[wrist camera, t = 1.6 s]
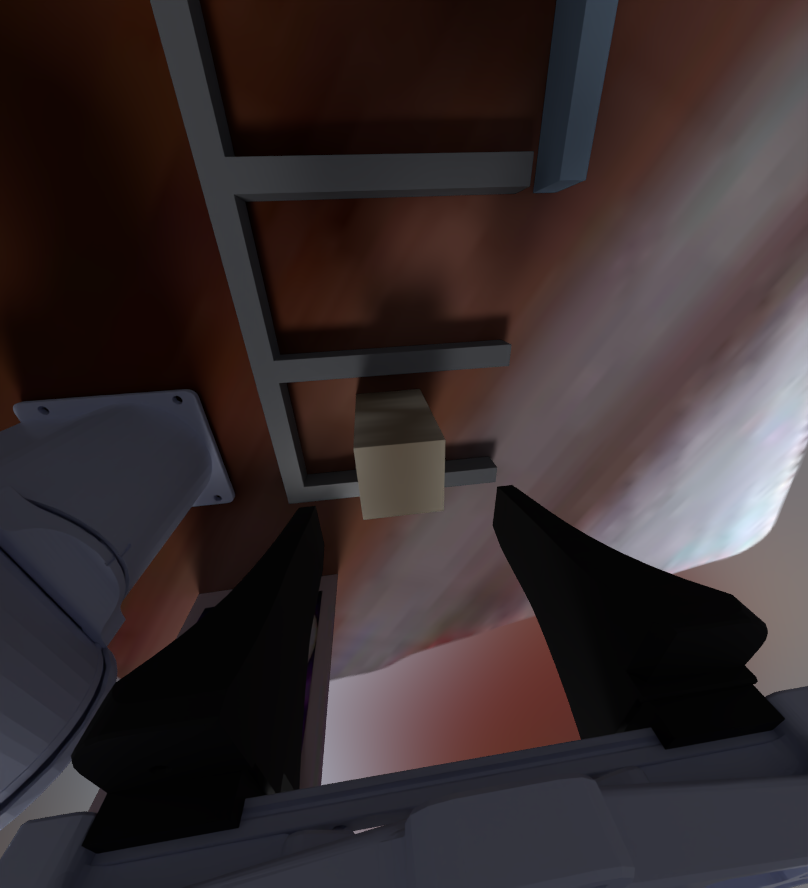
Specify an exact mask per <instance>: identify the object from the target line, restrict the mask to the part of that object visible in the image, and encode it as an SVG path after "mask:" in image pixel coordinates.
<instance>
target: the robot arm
mask: <svg viewBox="0 0 808 888" xmlns="http://www.w3.org/2000/svg"><path fill="white" fill-rule="evenodd" d="M176 396H179V397H181V398H182V400H183V402H180V401H178V400H177V399H176ZM44 407H46V408H47V409H48V410H49V411H47V410H46V409H45V408H44ZM13 410H14V413H15V414H16V416H17V417H18V419H19V420H20V421H21V423H19V424H17V425H15V426H12V427H10V428H8V429H5V430H3V431H1V432H0V830H1V829H3V828H4V827H5V826H6V825H8V824H9V823H10V822H11V821H12V820H14V819H15V818H16V817H17V816H18V815H20V813H22V812H23V811H24V810H25V809H26V808H27V807H28V806H29V805H30V804H31V803H32V802H33V801H34V800H36V799H37V798H38V797H39V796H40V795H41V794H42V793H43V792H44V791H45V790H46V789H47V788H48V786H49V785H50V784H51V783H52V782H53V781H54V780H55V779H56V778H57V777H58V776H59V775H60V774H61V773H62V772H63V770H64V769H65V768H66V767H67V766H68V764H69V763H70V762H71V761H72V764H73V767H74V768H75V769H76V770H77V771H78V772H79V774H81V775H82V776H84V777H85V778H86V779H88V780H89V781H91V782H92V783H94V784H95V785H97V786H98V787H99V788H101V789H102V790H103V791H105V792H106V793H107V795H106V797H105V799H104V801H103V803H102V805H101V807H100V809H99V811H98V813H95V812H75V813H69V814H63V815H57V816H52V817H45V818H40V819H34V820H29V821H27V822H26V823H24V824H23V825H21V827H20V828H19V830H18V832H17V833H16V835H15V836H14V838H13V840H12V841H11V843H10V844H9V846H8V848H7V849H6V851H5V853H4V854H3V856H2V857H1V859H0V888H791V887H794V886H798V885H802V884H807V883H808V686H806V687H800V688H794V689H789V690H783V691H778V692H774V693H772V694H770V695H768V696H766V697H764V696H763V695H762V694H761V693H760V692H759V691H758V689H757V688H756V687H755V686H754V685H753V684H756V683H757V682H758V681H757V678H756V676H755V675H753V673H752V672H751V671H750V670H749V669H748V668H747V667H746V666H745V664H746V663H747V662H748V661H749V660H750V659H751V658H752V656H753V655H754V654H755V653H756V652H757V651H758V650H759V648H760V647H761V646H762V644H763V643H764V641H765V640H766V637H767V634H768V630H767V627H766V624H765V623H764V622H763V621H762V620H761V619H759V618H758V617H757V616H756V615H755V614H754V613H753V612H751V611H750V610H749V609H748V608H747V607H746V606H744V605H743V604H742V603H741V602H740V601H739V600H738V599H737V598H735V597H734V596H733V595H731V594H728V593H726V592H722V591H719V590H716V589H713V588H710V587H707V586H704V585H701V584H698V583H695V582H692V581H689V580H686V579H683V578H681V577H678V576H675V575H673V574H670V573H668V572H665V571H662V570H660V569H657V568H655V567H652V566H650V565H648V564H645V563H643V562H641V561H638V560H636V559H634V558H632V557H630V556H627V555H625V554H623V553H621V552H619V551H617V550H615V549H613V548H611V547H609V546H607V545H605V544H603V543H601V542H599V541H597V540H595V539H594V538H592V537H590V536H588V535H586V534H585V533H583V532H581V531H580V530H578V529H576V528H575V527H573V526H571V525H570V524H568V523H566V522H565V521H563V520H562V519H560V518H559V517H557V516H556V515H554V514H553V513H551V512H550V511H548V510H547V509H545V508H544V507H543V506H541V505H540V504H538V503H537V502H536V501H534V500H533V499H531V498H530V497H528V496H527V495H526V494H524V493H523V492H521V491H520V490H519V489H517V488H516V487H514V486H513V485H509V486H499V487H497V494H496V502H495V510H494V518H493V528H494V530H495V533H496V536H497V539H498V541H499V544H500V546H501V549H502V551H503V553H504V555H505V557H506V558H507V560H508V562H509V564H510V566H511V568H512V570H513V572H514V574H515V575H516V577H517V579H518V581H519V583H520V585H521V587H522V589H523V590H524V592H525V594H526V596H527V598H528V600H529V602H530V604H531V606H532V608H533V610H534V613H535V615H536V618H537V619H538V622H539V625H540V627H541V630H542V632H543V635H544V637H545V639H546V642H547V645H548V647H549V650H550V652H551V655H552V658H553V660H554V663H555V665H556V668H557V671H558V673H559V676H560V679H561V682H562V685H563V687H564V690H565V693H566V696H567V699H568V702H569V704H570V707H571V711H572V713H573V717H574V719H575V722H576V725H577V728H578V731H579V734H580V738H581V740H577V741H571V742H565V743H559V744H554V745H548V746H542V747H537V748H531V749H526V750H520V751H515V752H509V753H503V754H497V755H492V756H486V757H480V758H475V759H469V760H463V761H457V762H451V763H446V764H441V765H434V766H429V767H423V768H418V769H412V770H406V771H400V772H395V773H389V774H383V775H378V776H372V777H366V778H361V779H356V780H349V781H344V782H338V783H332V784H327V785H321V786H315V787H310V788H304V789H299V788H300V767H301V748H302V731H303V716H304V701H305V689H306V677H307V665H308V655H309V644H310V636H311V630H312V624H313V619H314V614H315V608H316V603H317V598H318V593H319V587H320V582H321V577H322V571H323V559H324V541H323V537H322V532H321V528H320V523H319V519H318V514H317V510H316V506H311V507H301V508H299V509H298V510H297V511H296V513H295V514H294V515H293V517H292V518H291V520H290V521H289V523H288V524H287V525H286V527H285V528H284V530H283V531H282V532H281V534H280V535H279V536H278V538H277V539H276V540H275V542H274V543H273V544H272V545H271V547H270V548H269V549H268V551H267V552H266V553H265V554H264V555H263V557H262V558H261V559H260V560H259V561H258V563H257V564H256V565H255V566H254V567H253V568H252V570H251V571H250V572H249V573H248V574H247V575H246V576H245V577H244V578H243V579H242V581H241V582H240V583H239V584H238V585H237V586H236V587H235V588H234V589H233V590H232V591H231V592H230V593H229V594H228V595H227V596H226V597H225V598H224V599H222V600H221V601H220V602H219V603H218V604H217V605H216V606H215V607H214V608H212V609H211V610H210V611H209V612H208V613H207V614H206V615H205V616H204V617H202V618H201V619H200V620H199V621H198V622H197V623H195V624H194V625H193V626H192V627H191V628H189V629H188V630H187V631H186V632H184V633H183V634H182V635H181V636H179V637H178V638H177V639H175V640H174V641H173V642H172V643H170V644H169V645H168V646H166V647H165V648H164V649H162V650H161V651H160V652H158V653H157V654H156V655H154V656H153V657H152V658H150V659H149V660H147V661H146V662H144V663H143V664H142V665H140V666H139V667H137V668H136V669H135V670H133V671H132V672H130V673H129V674H128V675H126V676H125V677H123V678H122V679H120V680H119V681H118V682H116V679H117V663H116V659H115V657H114V655H113V653H112V652H111V651H110V650H109V649H108V648H107V646H108V644H109V643H110V641H111V640H112V639H113V637H114V636H115V634H116V633H117V631H118V630H119V628H120V627H121V625H122V624H123V623H124V621H125V617H124V616H123V615H122V613H121V609H120V605H121V603H122V601H123V600H124V598H125V597H126V595H127V594H128V593H129V591H130V590H131V589H132V587H133V586H134V585H135V583H136V582H137V581H138V579H139V578H140V576H141V575H142V574H143V572H144V571H145V570H146V568H147V567H148V566H149V564H150V563H151V561H152V560H153V559H154V557H155V556H156V555H157V553H158V552H159V551H160V549H161V548H162V546H163V545H164V544H165V542H166V541H167V540H168V538H169V537H170V536H171V534H172V533H173V531H174V530H175V529H176V527H177V526H178V525H179V523H180V522H181V521H182V519H183V518H184V516H185V515H186V514H187V512H188V511H189V510H190V508H191V507H194V506H203V505H213V504H223V503H230V502H232V501H233V499H234V497H235V493H234V490H233V487H232V485H231V482H230V479H229V477H228V474H227V471H226V469H225V466H224V463H223V461H222V458H221V455H220V452H219V450H218V447H217V444H216V442H215V439H214V436H213V434H212V431H211V428H210V426H209V423H208V420H207V418H206V415H205V412H204V410H203V407H202V404H201V402H200V399H199V396H198V395H197V393H196V392H194V391H193V390H190V389H181V390H168V391H154V392H141V393H128V394H115V395H101V396H88V397H75V398H61V399H48V400H35V401H23V402H20V403H17V404H15V405H14V406H13ZM216 495H219V496H221V498H219V497H217V496H216ZM383 825H384V826H383ZM377 826H381V827H377ZM372 827H377V828H374V829H371V830H368V831H364V832H361V833H358V834H354V832H353V831H356V830H361V829H366V828H372Z"/></svg>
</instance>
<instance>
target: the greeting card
mask: <svg viewBox="0 0 808 888" xmlns="http://www.w3.org/2000/svg"><path fill="white" fill-rule="evenodd" d="M337 580H338V574H334V575H327V576H322V577H321V582H320V587H319V593H318V598H317V603H316V608H315V614H314V619H313V624H312V630H311V636H310V644H309V655H308V665H307V677H306V689H305V701H304V716H303V731H302V748H301V767H300V788H299V789H304V788H310V787H315V786H321V779H322V766H323V754H324V741H325V729H326V716H327V704H328V691H329V679H330V667H331V654H332V642H333V629H334V617H335V604H336V592H337ZM232 590H233V589H231V590H224V591H218V592H211V593H204V594H199V595H198V597H197V599H196V601H195V603H194V605H193V607H192V609H191V611H190V613H189V615H188V617H187V619H186V621H185V623H184V625H183V627H182V628H181V630H180V632H179V634H178V636H177V638H178V637H179V636H181V635H182V634H183V633H184V632H186V631H187V630H188V629H189V628H191V627H192V626H193V625H194V624H195V623H197V622H198V621H199V620H200V619H201V618H202V617H204V616H205V615H206V614H207V613H208V612H209V611H210V610H211V609H212V608H214V607H215V606H216V605H217V604H218V603H219V602H220V601H221V600H222V599H224V598H225V597H226V596H227V595H228V594H229V593H230V592H231V591H232ZM177 638H176V639H177ZM106 795H107V793H106V792H105V791H103V790H102V789H101V788H100V789H99V791H98V793H97V795H96V797H95V799H94V801H93V803H92V805H91V807H90V809H89V811H88V812H95V813H98V811H99V809H100V807H101V805H102V803H103V801H104V799H105V797H106Z"/></svg>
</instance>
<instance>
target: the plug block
mask: <svg viewBox="0 0 808 888" xmlns="http://www.w3.org/2000/svg"><path fill="white" fill-rule="evenodd" d="M354 456H355V463H356V470H357V478H358V485H359V492H360V499H361V507H362V514H363V520H366V519H375V518H383V517H392V516H401V515H410V514H419V513H428V512H437V511H444V478H445V438H444V436H443V434H442V432H441V430H440V428H439V426H438V424H437V422H436V420H435V418H434V416H433V414H432V412H431V410H430V408H429V406H428V404H427V402H426V400H425V398H424V396H423V394H422V392H421V390H420V389H413V390H401V391H388V392H376V393H363V394H356V409H355V429H354Z"/></svg>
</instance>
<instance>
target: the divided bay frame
mask: <svg viewBox="0 0 808 888" xmlns="http://www.w3.org/2000/svg"><path fill="white" fill-rule="evenodd" d="M150 2H151V5H152V9H153V13H154V16H155V20H156V24H157V27H158V31H159V34H160V38H161V42H162V45H163V49H164V52H165V56H166V60H167V63H168V67H169V71H170V74H171V78H172V81H173V85H174V89H175V92H176V96H177V100H178V103H179V107H180V110H181V114H182V118H183V121H184V125H185V129H186V132H187V136H188V139H189V143H190V147H191V150H192V154H193V158H194V161H195V165H196V168H197V172H198V176H199V179H200V183H201V187H202V190H203V194H204V197H205V201H206V205H207V208H208V212H209V216H210V219H211V223H212V226H213V230H214V234H215V237H216V241H217V244H218V248H219V252H220V255H221V259H222V263H223V266H224V270H225V273H226V277H227V281H228V284H229V288H230V292H231V295H232V299H233V302H234V306H235V310H236V313H237V317H238V321H239V324H240V328H241V331H242V335H243V339H244V342H245V346H246V350H247V353H248V357H249V360H250V364H251V368H252V371H253V375H254V379H255V382H256V386H257V389H258V393H259V397H260V400H261V404H262V408H263V411H264V415H265V418H266V422H267V426H268V429H269V433H270V436H271V440H272V444H273V447H274V451H275V455H276V458H277V462H278V465H279V469H280V473H281V476H282V480H283V484H284V487H285V491H286V494H287V498H288V502H289V504H292V503H301V502H311V501H320V500H330V499H339V498H349V497H358V496H360V492H359V485H358V478H357V470H348V471H338V472H328V473H318V474H308V475H307V471H306V466H305V462H304V457H303V453H302V449H301V444H300V440H299V435H298V431H297V427H296V422H295V418H294V414H293V409H292V405H291V400H290V396H289V392H288V387H287V383H288V382H301V381H314V380H327V379H341V378H354V377H367V376H380V375H393V374H407V373H420V372H433V371H446V370H460V369H473V368H486V367H499V366H509V361H510V352H511V344H509V343H507V342H505V341H503V340H488V341H474V342H459V343H445V344H430V345H415V346H401V347H386V348H371V349H357V350H342V351H328V352H313V353H298V354H284V355H280V352H279V348H278V343H277V339H276V335H275V330H274V326H273V321H272V317H271V313H270V308H269V304H268V299H267V295H266V291H265V286H264V282H263V278H262V273H261V269H260V264H259V260H258V256H257V251H256V247H255V242H254V238H253V234H252V229H251V225H250V220H249V216H248V212H247V207H246V203H245V202H248V201H282V200H316V199H350V198H384V197H418V196H452V195H486V194H516V193H518V192H520V191H522V190H524V189H526V188H527V187H529V186H530V181H531V172H532V163H533V155H534V151H528V152H473V153H418V154H363V155H308V156H253V157H235V155H234V150H233V146H232V141H231V137H230V133H229V128H228V124H227V120H226V115H225V111H224V106H223V102H222V98H221V93H220V89H219V84H218V80H217V76H216V71H215V67H214V63H213V58H212V54H211V49H210V45H209V41H208V36H207V32H206V27H205V23H204V19H203V14H202V10H201V5H200V1H199V0H150ZM617 5H618V0H557V1H556V9H555V17H554V26H553V34H552V42H551V50H550V59H549V67H548V75H547V83H546V92H545V100H544V108H543V116H542V124H541V133H540V141H539V149H538V157H537V166H536V174H535V182H534V190H533V193H554V192H558V191H561V190H563V189H565V188H568V187H570V186H573V185H575V184H577V183H580V182H582V181H584V180H586V176H587V170H588V165H589V159H590V154H591V148H592V143H593V137H594V132H595V126H596V121H597V115H598V110H599V104H600V99H601V93H602V88H603V82H604V77H605V71H606V66H607V60H608V55H609V49H610V44H611V38H612V33H613V27H614V22H615V16H616V11H617ZM496 473H497V467H496V465H495V464H494V462H493V461H492V460H491V458H490V457H479V458H469V459H459V460H449V461H445V478H444V487H452V486H462V485H471V484H480V483H490V482H495V481H496Z"/></svg>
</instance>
